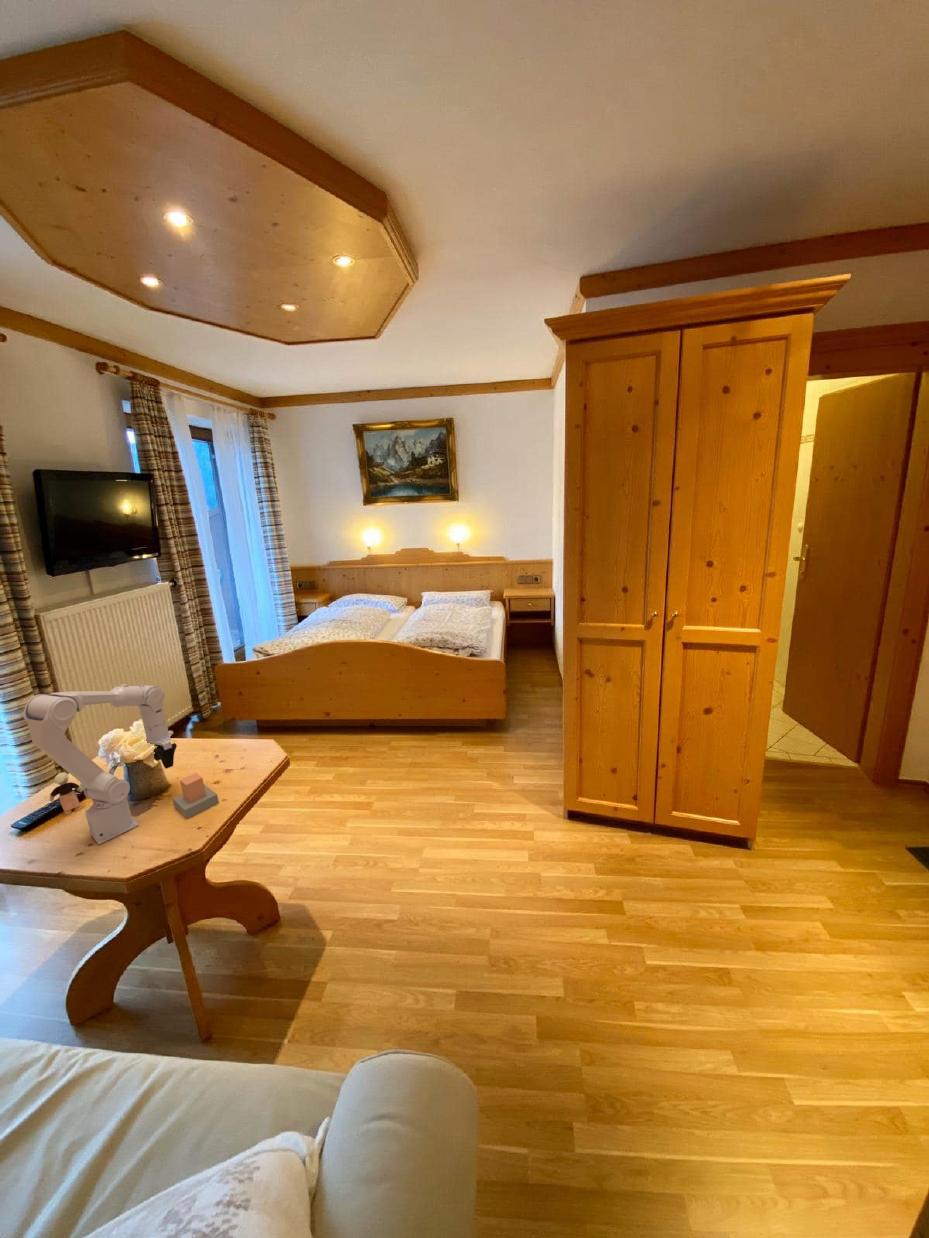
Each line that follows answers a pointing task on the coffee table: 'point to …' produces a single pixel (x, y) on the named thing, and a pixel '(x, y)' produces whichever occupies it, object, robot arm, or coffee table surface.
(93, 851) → the coffee table surface
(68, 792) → the grandmother figurine
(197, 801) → the gray block
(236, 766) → the coffee table surface
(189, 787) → the terracotta block
